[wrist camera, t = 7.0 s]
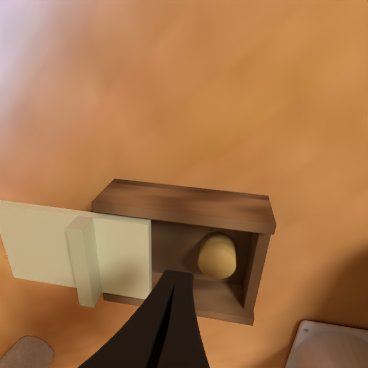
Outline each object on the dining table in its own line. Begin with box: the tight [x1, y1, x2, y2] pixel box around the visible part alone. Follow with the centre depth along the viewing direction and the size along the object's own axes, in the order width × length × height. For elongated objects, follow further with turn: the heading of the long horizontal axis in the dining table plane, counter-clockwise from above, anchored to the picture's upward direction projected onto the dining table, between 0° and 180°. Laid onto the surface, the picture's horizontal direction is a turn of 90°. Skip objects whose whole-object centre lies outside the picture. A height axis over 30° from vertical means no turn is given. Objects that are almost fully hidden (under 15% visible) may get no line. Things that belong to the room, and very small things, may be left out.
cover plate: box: [0, 200, 152, 308], centre depth 21 cm, size 13×8×2 cm, turn 87°
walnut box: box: [92, 179, 276, 326], centre depth 22 cm, size 13×10×4 cm
